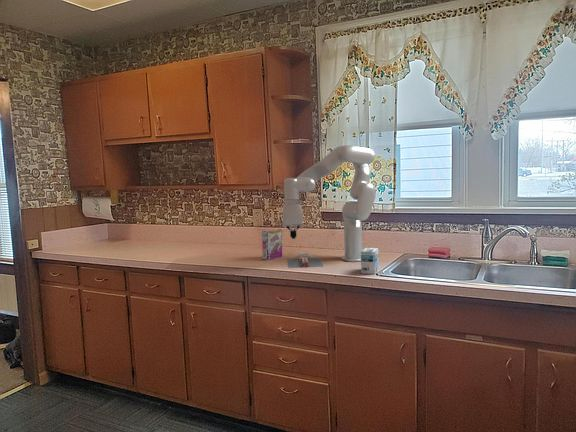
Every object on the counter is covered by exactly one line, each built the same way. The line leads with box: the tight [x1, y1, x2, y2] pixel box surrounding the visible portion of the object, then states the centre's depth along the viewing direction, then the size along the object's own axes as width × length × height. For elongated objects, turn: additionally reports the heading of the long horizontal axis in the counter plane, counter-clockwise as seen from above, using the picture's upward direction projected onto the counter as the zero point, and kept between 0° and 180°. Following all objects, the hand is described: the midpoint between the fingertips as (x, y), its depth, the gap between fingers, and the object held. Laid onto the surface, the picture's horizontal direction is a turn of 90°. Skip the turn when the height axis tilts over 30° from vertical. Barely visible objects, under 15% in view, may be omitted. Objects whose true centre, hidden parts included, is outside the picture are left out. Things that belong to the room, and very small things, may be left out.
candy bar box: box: [261, 228, 283, 261], centre depth 255 cm, size 11×5×16 cm, turn 132°
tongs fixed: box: [303, 256, 310, 268], centre depth 238 cm, size 19×3×2 cm, turn 2°
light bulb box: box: [360, 247, 380, 275], centre depth 217 cm, size 11×7×11 cm, turn 158°
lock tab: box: [298, 251, 309, 259], centre depth 250 cm, size 5×5×3 cm
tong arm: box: [301, 256, 307, 268], centre depth 236 cm, size 16×1×2 cm, turn 1°
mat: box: [286, 257, 325, 269], centre depth 240 cm, size 18×23×1 cm
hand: (293, 238), depth 231 cm, fingers closed
